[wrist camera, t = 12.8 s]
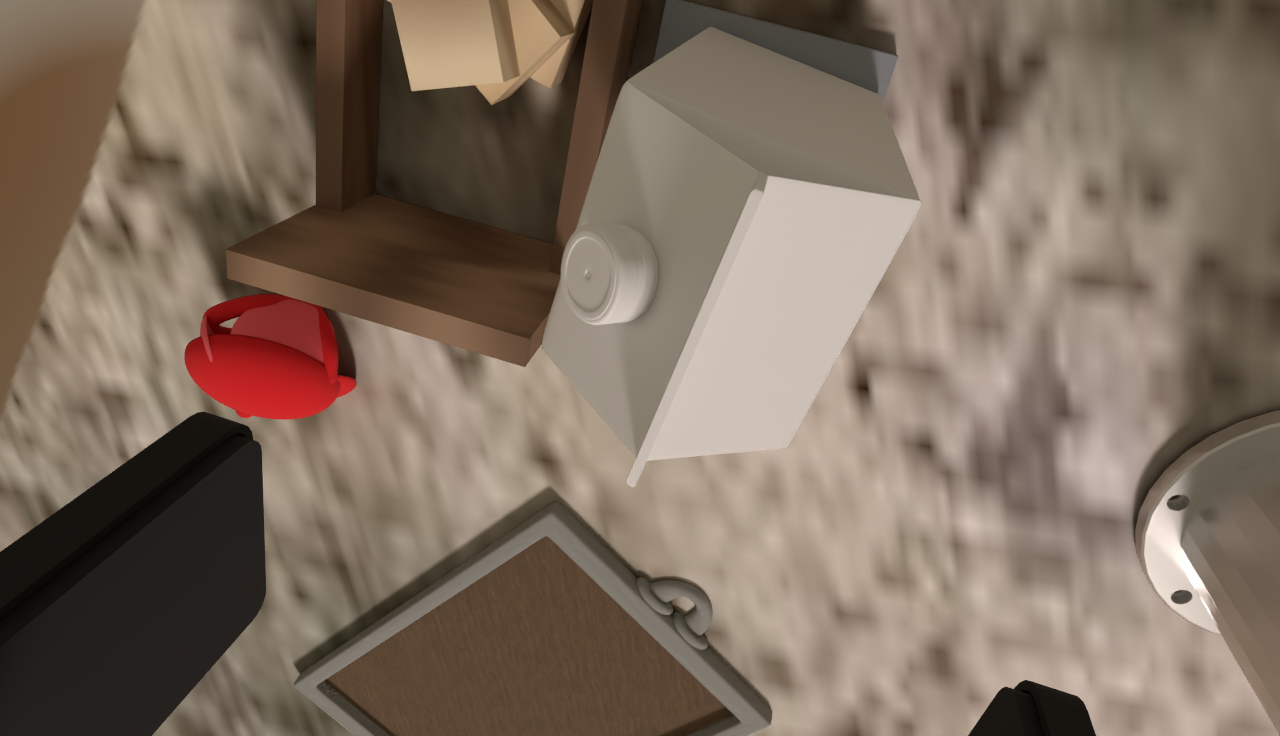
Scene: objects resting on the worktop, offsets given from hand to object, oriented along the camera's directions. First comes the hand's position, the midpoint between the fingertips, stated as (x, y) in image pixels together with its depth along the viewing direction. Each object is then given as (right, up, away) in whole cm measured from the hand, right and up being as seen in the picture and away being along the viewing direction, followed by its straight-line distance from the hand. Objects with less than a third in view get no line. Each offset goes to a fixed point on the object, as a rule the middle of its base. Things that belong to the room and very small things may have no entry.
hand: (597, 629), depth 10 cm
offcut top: (-6, +17, +19) cm, 26 cm away
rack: (-6, +16, +24) cm, 29 cm away
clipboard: (-6, -17, +42) cm, 46 cm away
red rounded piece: (-17, +5, +32) cm, 37 cm away
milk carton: (+5, +12, +22) cm, 26 cm away
